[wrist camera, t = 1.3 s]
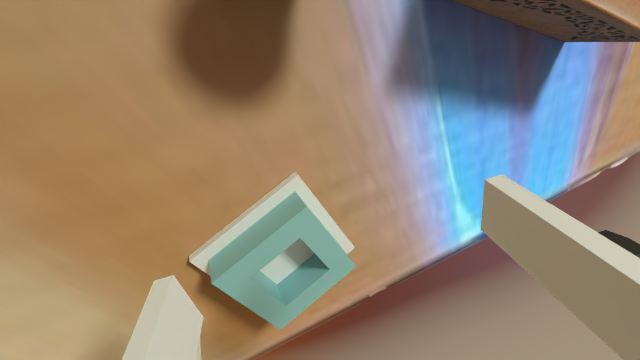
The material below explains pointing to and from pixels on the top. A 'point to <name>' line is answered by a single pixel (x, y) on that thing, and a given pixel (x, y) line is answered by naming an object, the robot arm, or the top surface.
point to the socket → (278, 253)
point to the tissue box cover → (569, 17)
